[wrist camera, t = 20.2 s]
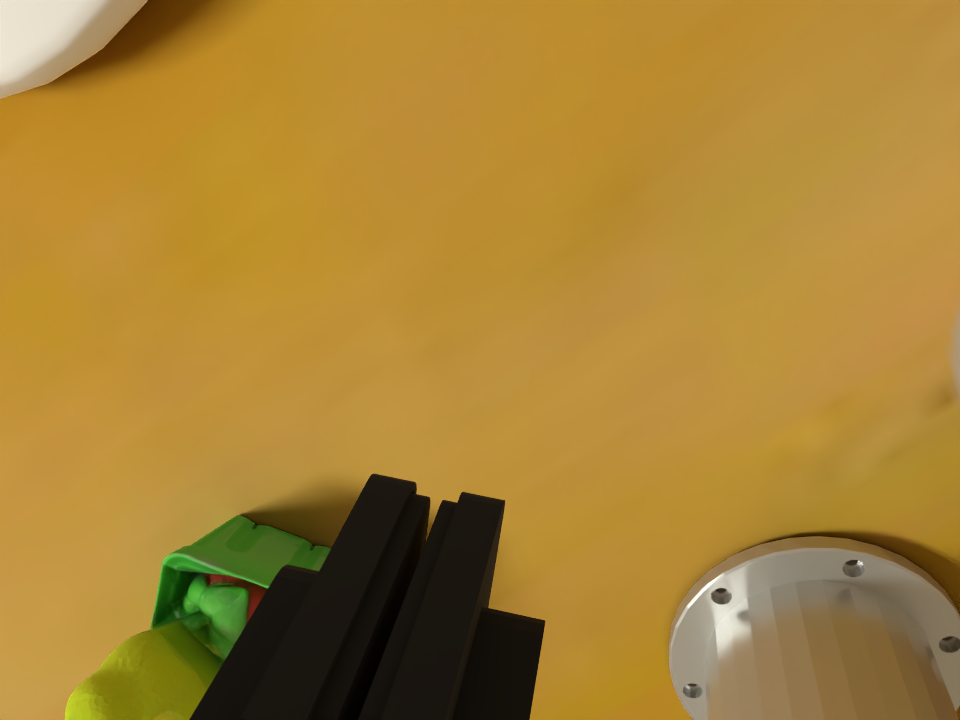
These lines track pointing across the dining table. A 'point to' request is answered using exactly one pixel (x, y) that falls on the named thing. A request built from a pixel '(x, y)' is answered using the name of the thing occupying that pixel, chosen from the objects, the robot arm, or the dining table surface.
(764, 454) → the dining table surface
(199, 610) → the fruit basket
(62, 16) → the plate
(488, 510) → the robot arm
